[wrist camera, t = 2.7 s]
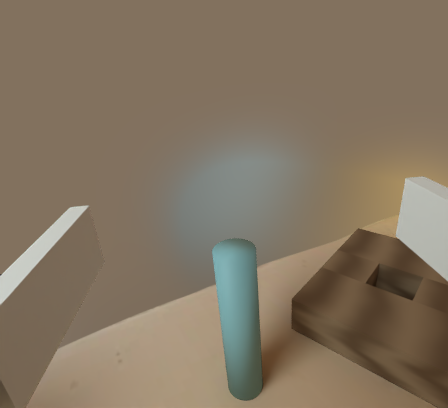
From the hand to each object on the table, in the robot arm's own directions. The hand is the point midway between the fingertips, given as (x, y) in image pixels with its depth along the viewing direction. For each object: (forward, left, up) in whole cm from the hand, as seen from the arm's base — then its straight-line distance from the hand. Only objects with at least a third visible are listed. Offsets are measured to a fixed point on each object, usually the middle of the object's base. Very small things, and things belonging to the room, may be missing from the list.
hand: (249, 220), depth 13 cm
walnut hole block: (-1, -25, -23) cm, 34 cm away
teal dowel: (+7, -6, -23) cm, 25 cm away
